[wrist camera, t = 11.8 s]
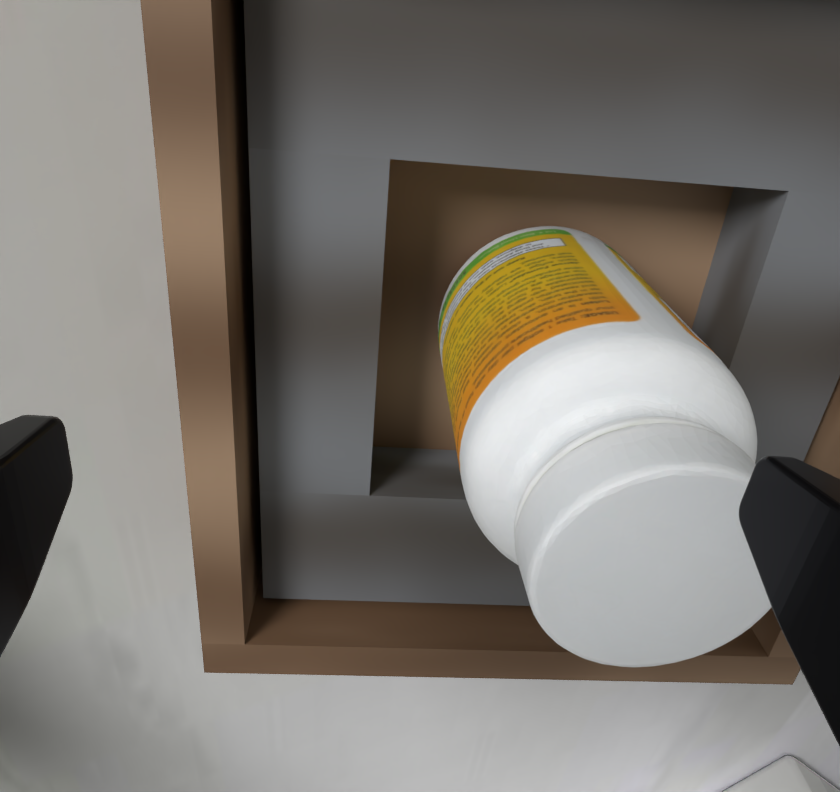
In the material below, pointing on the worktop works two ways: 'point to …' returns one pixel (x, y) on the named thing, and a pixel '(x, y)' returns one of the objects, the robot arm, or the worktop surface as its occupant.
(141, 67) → the worktop surface
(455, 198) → the tray
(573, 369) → the supplement bottle
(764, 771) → the container
